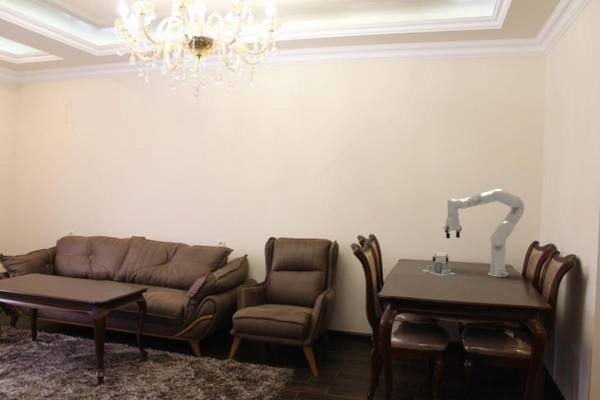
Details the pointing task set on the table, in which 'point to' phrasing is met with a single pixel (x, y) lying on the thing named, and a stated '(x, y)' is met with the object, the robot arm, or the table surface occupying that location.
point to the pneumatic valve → (440, 258)
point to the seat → (444, 272)
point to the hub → (438, 266)
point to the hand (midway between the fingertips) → (453, 238)
